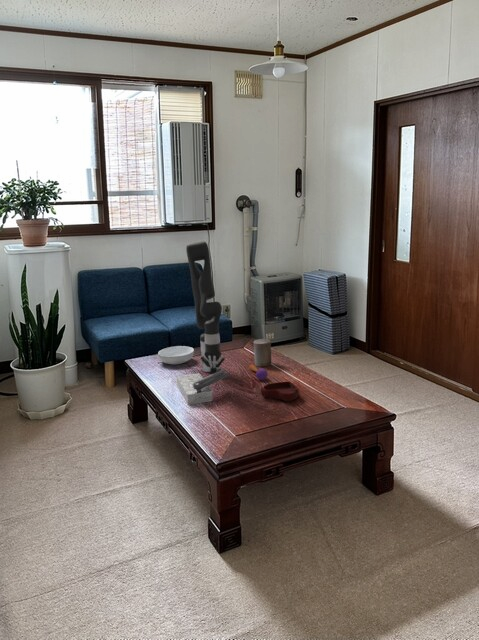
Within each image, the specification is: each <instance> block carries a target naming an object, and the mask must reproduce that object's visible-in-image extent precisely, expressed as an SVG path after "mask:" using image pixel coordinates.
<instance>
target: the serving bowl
mask: <svg viewBox="0 0 479 640" xmlns="http://www.w3.org/2000/svg"><path fill="white" fill-rule="evenodd" d="M194 352H195V349H194V348H193V347H190V346H185V345H183V346H182V345H176V346H170V347H169V346H168V347H166V348H163V349H161V350H159V351H158V353H157V355H158V357H159V359H160V361H161V362H163V363H165V364H168V365H181V364H184V363H187V362H189V361H190V360H191V359H192V358H193V356H194V354H195V353H194Z"/></svg>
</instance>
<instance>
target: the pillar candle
mask: <svg viewBox="0 0 479 640" xmlns="http://www.w3.org/2000/svg"><path fill="white" fill-rule="evenodd" d="M253 353H254V354H253V357H254V365H255V366H256V367H261V368H263V367H269V366H272V365H273V364H272V342H271V339H268V338H259V339H255V340H254V341H253Z"/></svg>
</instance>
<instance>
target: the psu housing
mask: <svg viewBox="0 0 479 640" xmlns="http://www.w3.org/2000/svg"><path fill="white" fill-rule="evenodd" d="M203 378H204V377H203V376H202V375H201V373H199V372H198V373H189V374H184V375H182V374H181V375H177V376H176V385H177V387H178V390H179V391H180V393H181V395H182V397H183V398H184V400H185V402H186V404H187V405H189V406H190V405H196V404H202V403H207V402H213V401H214V400H213V390H212V389H211V388H210V385H209V386H207V387H205V388H203V389H194V388H193V383H195V382H197V381H199V380H200V379H203Z"/></svg>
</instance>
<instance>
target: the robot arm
mask: <svg viewBox="0 0 479 640" xmlns="http://www.w3.org/2000/svg"><path fill="white" fill-rule="evenodd" d="M185 249H186V256H187V261H188V262H187V263H188V265H189V266H188V267H189V271H190V278H191V279H190V280H191V288H192V289H191V290H192V295H193V299H194V309H195V310H194V311H195V320H196V321H195V322H196V326H197V328H198V329H204V333H202V334H200V336H199V339H200V340H199V341H200V356H201V357H200V360H201V370H202V372H205V373H210V375H211V374H214V373H216V372H218V371H220V370H221V367H220V366H221V365H222V363H223V362H225V360H226V356H223V355H222V352H221V336H220V321H221V320H220V319H221V315H222V311H223V308H222V305H221V303H220V302H219V301H209V302H207V301H208V300H212V299H213V298H214V297H216V293H215V288H214V284H213V283H214V282H213V277H212V263H211V257H210V256H211V254H210V249H209V245H208V243H207V241H204V240H203V241H196V242H191V243H188V244H186V248H185ZM199 261H203V262H204V263H203V268H202V271H201V270H200V268H199V267H198V266H197V264H196V262H199Z"/></svg>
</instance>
